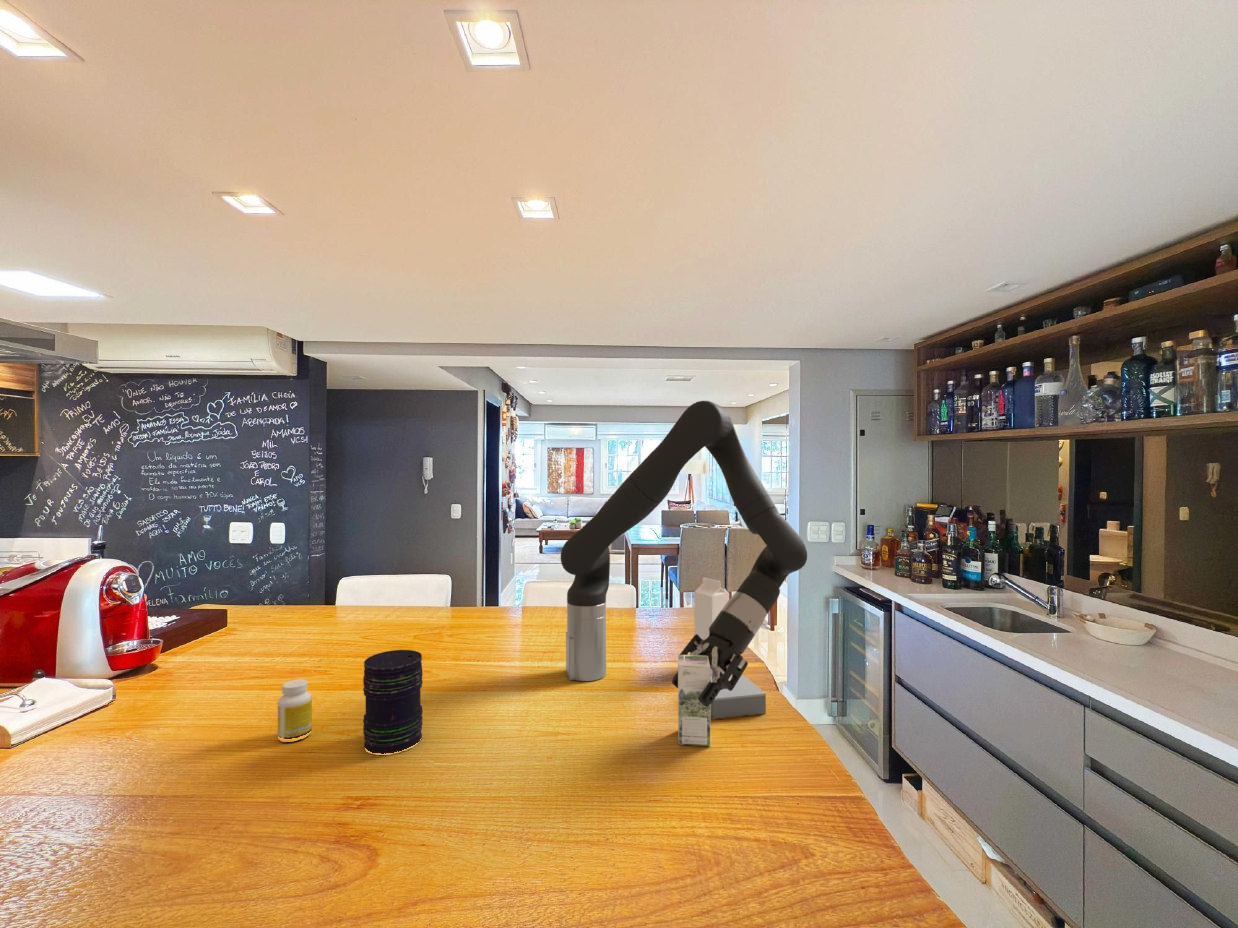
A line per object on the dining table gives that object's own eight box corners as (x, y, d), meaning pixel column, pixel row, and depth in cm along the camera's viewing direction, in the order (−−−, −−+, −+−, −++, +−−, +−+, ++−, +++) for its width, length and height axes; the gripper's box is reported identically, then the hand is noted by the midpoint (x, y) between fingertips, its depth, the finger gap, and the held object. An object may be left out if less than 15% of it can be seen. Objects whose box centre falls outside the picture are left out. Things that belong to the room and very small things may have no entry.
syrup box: (708, 731, 103) (708, 653, 103) (711, 747, 97) (710, 665, 97) (678, 730, 103) (677, 652, 103) (678, 746, 98) (678, 664, 98)
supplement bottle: (318, 732, 103) (318, 679, 103) (292, 746, 98) (292, 690, 98) (296, 727, 105) (296, 676, 105) (270, 741, 100) (270, 686, 100)
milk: (712, 676, 130) (711, 583, 130) (694, 669, 135) (693, 578, 134) (730, 670, 133) (729, 579, 133) (711, 663, 138) (711, 575, 138)
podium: (713, 719, 108) (713, 698, 108) (694, 696, 119) (694, 677, 119) (765, 713, 110) (765, 693, 110) (741, 691, 121) (741, 673, 121)
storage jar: (364, 761, 93) (364, 672, 93) (361, 736, 101) (361, 654, 102) (426, 747, 97) (426, 662, 97) (418, 724, 106) (418, 646, 106)
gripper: (704, 601, 110) (655, 669, 105) (752, 619, 97) (699, 697, 92) (725, 624, 112) (678, 692, 107) (775, 644, 100) (725, 722, 95)
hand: (688, 694), depth 100 cm, fingers open, 8 cm apart
